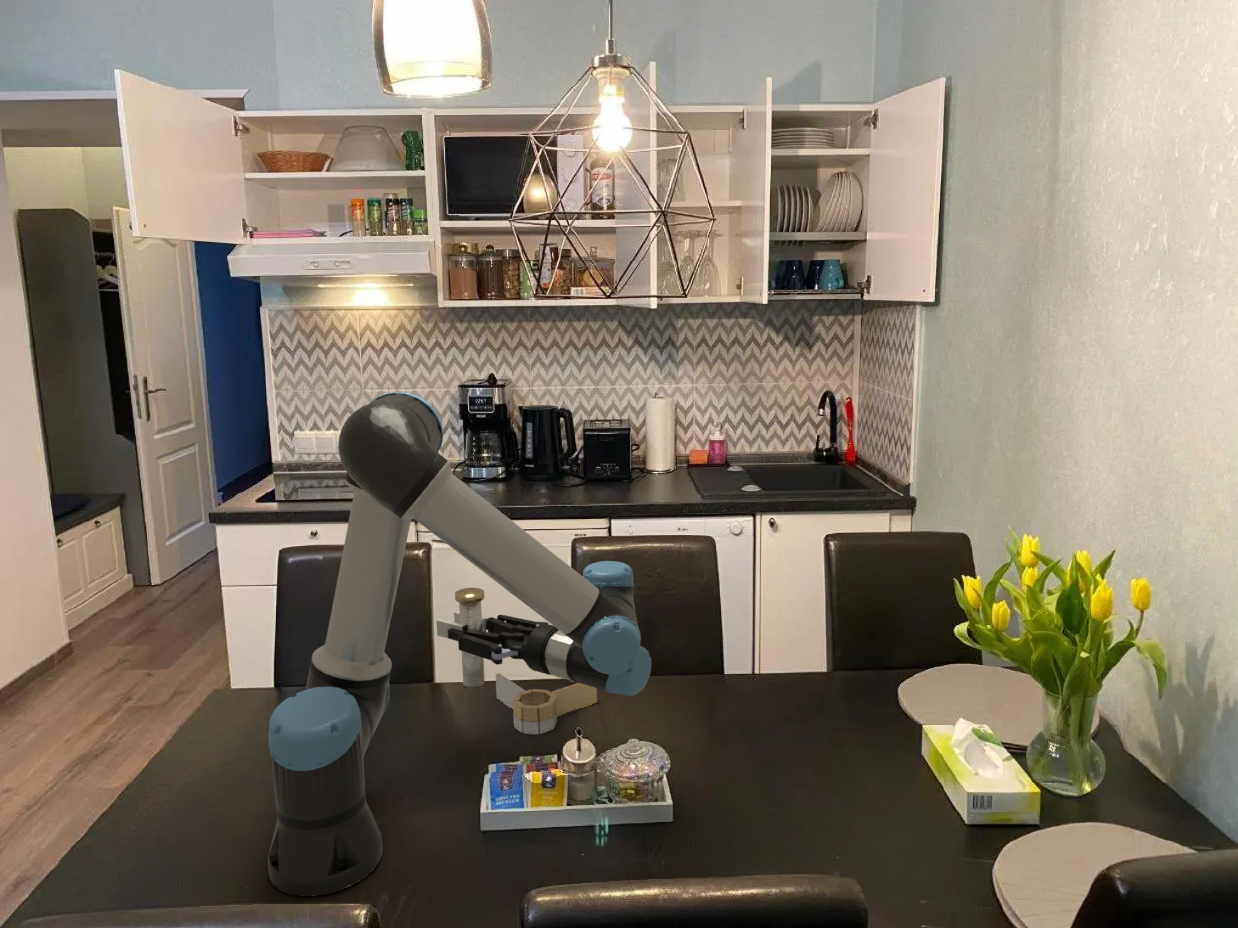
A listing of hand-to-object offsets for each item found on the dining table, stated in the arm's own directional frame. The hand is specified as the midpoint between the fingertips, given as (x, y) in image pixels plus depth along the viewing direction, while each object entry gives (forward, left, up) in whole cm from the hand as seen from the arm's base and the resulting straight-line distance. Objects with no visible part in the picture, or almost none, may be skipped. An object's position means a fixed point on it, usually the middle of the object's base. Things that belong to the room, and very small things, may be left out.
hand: (447, 623), depth 153 cm
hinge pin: (-2, -5, -10) cm, 11 cm away
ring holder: (+11, -13, -22) cm, 28 cm away
